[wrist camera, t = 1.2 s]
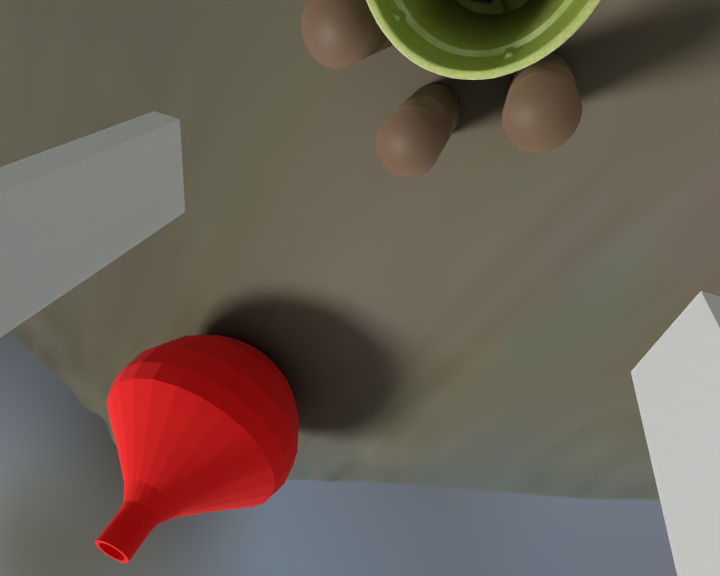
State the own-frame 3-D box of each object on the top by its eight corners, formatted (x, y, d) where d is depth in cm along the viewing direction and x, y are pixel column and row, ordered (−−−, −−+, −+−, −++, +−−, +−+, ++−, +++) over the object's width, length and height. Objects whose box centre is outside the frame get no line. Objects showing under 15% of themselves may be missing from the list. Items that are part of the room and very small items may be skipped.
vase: (248, 444, 56) (142, 613, 41) (142, 338, 51) (-24, 488, 36) (357, 413, 46) (268, 624, 31) (238, 277, 41) (62, 452, 26)
